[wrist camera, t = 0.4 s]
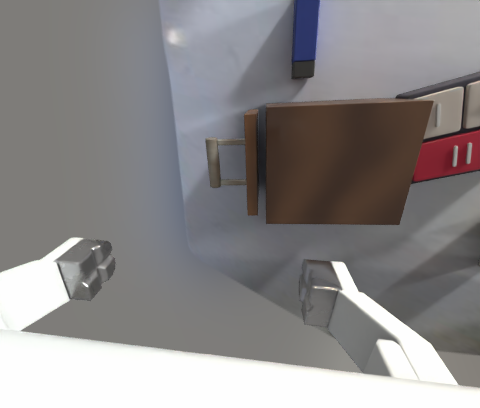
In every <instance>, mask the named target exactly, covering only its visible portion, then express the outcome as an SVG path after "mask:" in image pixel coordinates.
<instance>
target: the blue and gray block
mask: <svg viewBox="0 0 480 408" xmlns="http://www.w3.org/2000/svg"><path fill="white" fill-rule="evenodd" d="M319 11H320V0H294V21H293V44H292V79H296V78H311V77H313V76H314V68H315V60H316V49H317V36H318V23H319Z"/></svg>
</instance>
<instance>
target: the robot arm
mask: <svg viewBox="0 0 480 408" xmlns="http://www.w3.org/2000/svg"><path fill="white" fill-rule="evenodd" d="M111 251H112V246H111V243H110V242H108V241H102V240H94V239H84V238H70V239H69V240H67V241H66V242H65V243H63V244H62V245H60V246H59V247H58V248H56V249H55V250H54V251H52V252H51V253H49V254H48V255H47V256H45V257H44V258H42V259H41V260H35V261H32V262H29V263H26V264H24V265H21V266H18V267H15V268H12V269H9V270H6V271H3V272H1V273H0V408H480V388H477V387H468V386H461V385H458V384H457V382H456V381H455V379H454V378H453V376H452V375H451V373H450V372H449V370H448V369H447V367H446V366H445V364H444V363H443V361H442V360H441V358H440V357H439V355H438V354H437V353H436V351H435V350H434V348H433V347H432V345H431V344H430V343H429V342H427V341H426V340H425V339H423V338H422V337H421V336H419V335H418V334H417V333H415V332H414V331H413V330H411V329H410V328H409V327H408V326H406V325H405V324H404V323H402V322H401V321H400V320H398V319H397V318H396V317H394V316H393V315H392V314H390V313H389V312H388V311H386V310H385V309H384V308H382V307H381V306H380V305H378V304H377V303H376V302H374V301H373V300H372V299H370V298H369V297H368V296H366V295H365V294H364V293H360V292H358V290H357V288H356V286H355V284H354V282H353V280H352V278H351V276H350V274H349V272H348V270H347V268H346V266H345V264H344V263H343V262H335V261H317V260H306V259H304V261H303V264H302V271H303V274H302V275H301V276H300V280H299V297H300V301H301V302H302V303H303V305H302V314H303V320H304V324H305V325H312V326H319V327H327V328H328V330H329V331H330V332H331V334H332V335H333V336H334V337H335V339H336V340H337V341H338V342H339V344H340V345H341V346H342V347H343V349H344V350H345V351H346V352H347V354H348V355H349V356H350V357H351V359H352V360H353V361H354V362H355V363H356V365H357V366H358V367H359V368H360V370H361V371H362V372H363V373H354V372H347V371H339V370H330V369H323V368H315V367H306V366H298V365H290V364H282V363H274V362H265V361H257V360H250V359H241V358H233V357H225V356H217V355H209V354H201V353H193V352H184V351H176V350H168V349H159V348H152V347H144V346H136V345H127V344H119V343H111V342H103V341H95V340H86V339H79V338H71V337H63V336H62V337H61V336H53V335H46V334H38V333H30V332H21V330H22V329H24V328H25V327H27V326H29V325H30V324H32V323H33V322H35V321H37V320H38V319H40V318H41V317H43V316H45V315H46V314H48V313H50V312H51V311H53V310H55V309H56V308H58V307H60V306H61V305H63V304H64V303H66V302H68V301H69V300H70V299H76V300H88V301H91V300H92V299H93V298H94V296H95V295H96V294H97V293H98V292H99V291H100V289H101V288H102V286H101V284H102V283H104V282H106V281H107V280H109V279H110V277H111V276H112V275H113V272H114V270H115V258H114V257H113V256H112V255H111V254H110V253H111Z"/></svg>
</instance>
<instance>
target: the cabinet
mask: <svg viewBox="0 0 480 408" xmlns="http://www.w3.org/2000/svg"><path fill="white" fill-rule="evenodd" d="M433 103H434V100H420V99H392V98H377V99H355V100H333V101H311V102H289V103H267V104H266V224H360V225H399V224H400V220H401V217H402V213H403V210H404V206H405V203H406V199H407V195H408V192H409V188H410V185H411V181H412V178H413V174H414V171H415V167H416V164H417V160H418V156H419V153H420V149H421V146H422V142H423V139H424V135H425V132H426V128H427V124H428V121H429V117H430V114H431V110H432V107H433Z"/></svg>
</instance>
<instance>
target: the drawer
mask: <svg viewBox="0 0 480 408" xmlns="http://www.w3.org/2000/svg"><path fill="white" fill-rule="evenodd" d="M244 124H245V139H219V140H217V138H215V137H211V138H206V139H205V140H206V149H207V159H208V168H209V178H210V187H212V188H218V187H221V185H247V210H248V215H258V200H259V144H258V109H252V110H248V111H247V112H246V113H245V114H244ZM218 145H245V152H246V179H226V180H221V176H220V164H219V152H218Z"/></svg>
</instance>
